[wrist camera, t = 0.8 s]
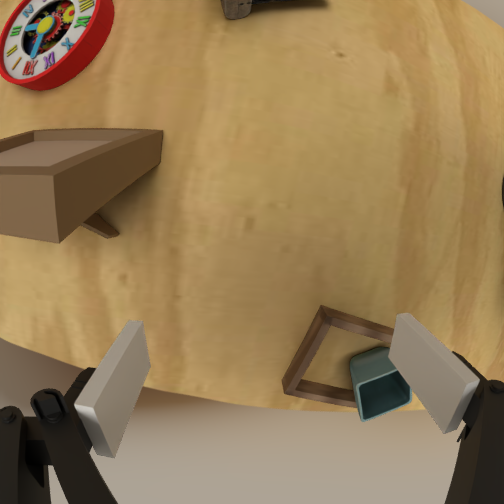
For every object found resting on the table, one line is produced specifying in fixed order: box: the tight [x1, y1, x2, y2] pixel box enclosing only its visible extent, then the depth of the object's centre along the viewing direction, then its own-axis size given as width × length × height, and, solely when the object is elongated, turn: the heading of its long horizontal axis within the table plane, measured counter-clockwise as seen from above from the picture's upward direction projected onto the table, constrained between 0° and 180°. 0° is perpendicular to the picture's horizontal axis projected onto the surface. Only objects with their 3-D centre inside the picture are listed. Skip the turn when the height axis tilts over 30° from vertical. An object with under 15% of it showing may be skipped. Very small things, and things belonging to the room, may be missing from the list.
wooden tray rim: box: [282, 305, 394, 408], centre depth 45 cm, size 17×14×4 cm
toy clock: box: [0, 0, 114, 91], centre depth 30 cm, size 20×6×20 cm
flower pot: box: [350, 347, 412, 422], centre depth 43 cm, size 9×9×9 cm
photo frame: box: [0, 128, 163, 243], centre depth 27 cm, size 15×22×25 cm
